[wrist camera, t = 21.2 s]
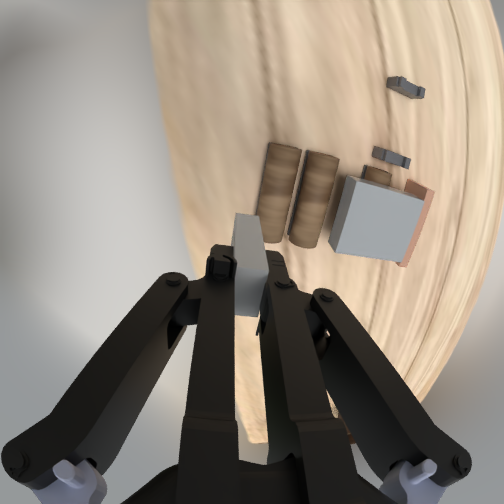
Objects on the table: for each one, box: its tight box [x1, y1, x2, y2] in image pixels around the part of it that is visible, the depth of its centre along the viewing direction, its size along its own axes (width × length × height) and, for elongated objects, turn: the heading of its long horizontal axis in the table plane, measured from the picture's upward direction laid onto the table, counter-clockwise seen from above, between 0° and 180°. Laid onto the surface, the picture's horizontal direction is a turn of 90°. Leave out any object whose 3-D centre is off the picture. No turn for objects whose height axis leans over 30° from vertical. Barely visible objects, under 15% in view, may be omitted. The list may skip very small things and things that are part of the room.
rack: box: [372, 76, 425, 169], centre depth 38 cm, size 16×6×4 cm, turn 170°
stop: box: [396, 179, 435, 267], centre depth 46 cm, size 16×2×7 cm, turn 170°
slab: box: [328, 175, 425, 262], centre depth 42 cm, size 12×14×4 cm
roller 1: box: [256, 143, 302, 243], centre depth 44 cm, size 16×5×5 cm, turn 170°
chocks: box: [256, 142, 386, 235], centre depth 47 cm, size 16×23×1 cm
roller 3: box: [364, 166, 392, 186], centre depth 46 cm, size 16×5×5 cm, turn 170°
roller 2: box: [289, 151, 340, 249], centre depth 45 cm, size 16×5×5 cm, turn 170°
